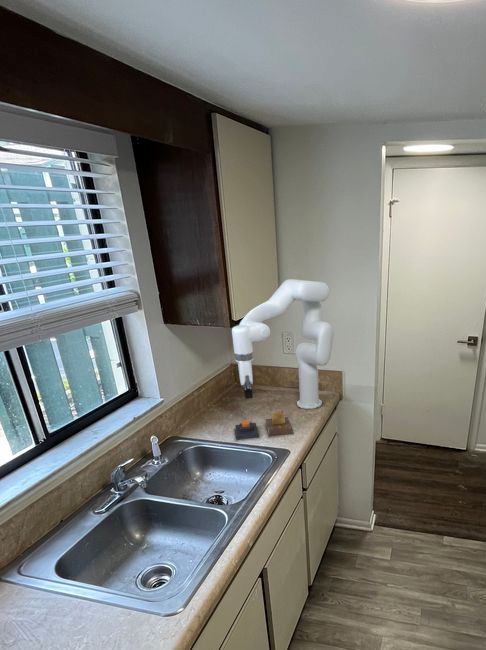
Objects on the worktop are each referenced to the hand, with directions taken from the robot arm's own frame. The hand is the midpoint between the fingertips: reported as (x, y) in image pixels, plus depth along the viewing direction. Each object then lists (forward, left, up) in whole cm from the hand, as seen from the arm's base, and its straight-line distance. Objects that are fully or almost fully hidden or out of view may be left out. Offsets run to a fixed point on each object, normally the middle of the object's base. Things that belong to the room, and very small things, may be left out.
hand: (248, 397), depth 186 cm
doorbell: (+2, -2, -16) cm, 16 cm away
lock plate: (+2, +12, -16) cm, 20 cm away
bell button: (+2, -2, -12) cm, 13 cm away
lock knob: (+2, +12, -13) cm, 17 cm away
